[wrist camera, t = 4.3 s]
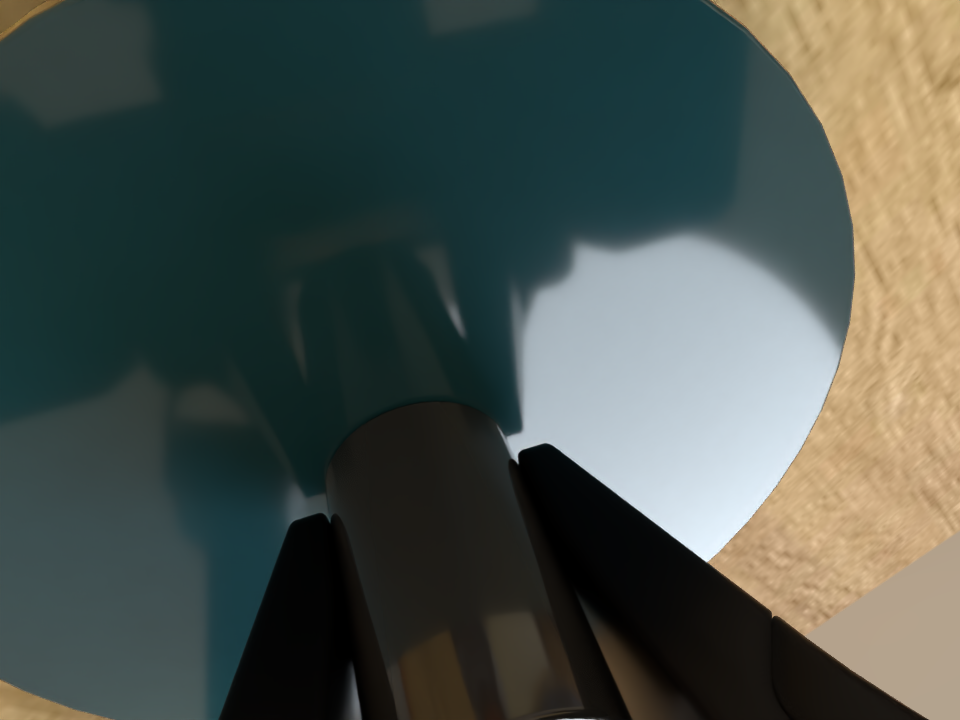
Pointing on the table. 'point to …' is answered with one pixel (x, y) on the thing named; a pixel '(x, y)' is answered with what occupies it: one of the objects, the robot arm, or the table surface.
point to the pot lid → (388, 327)
